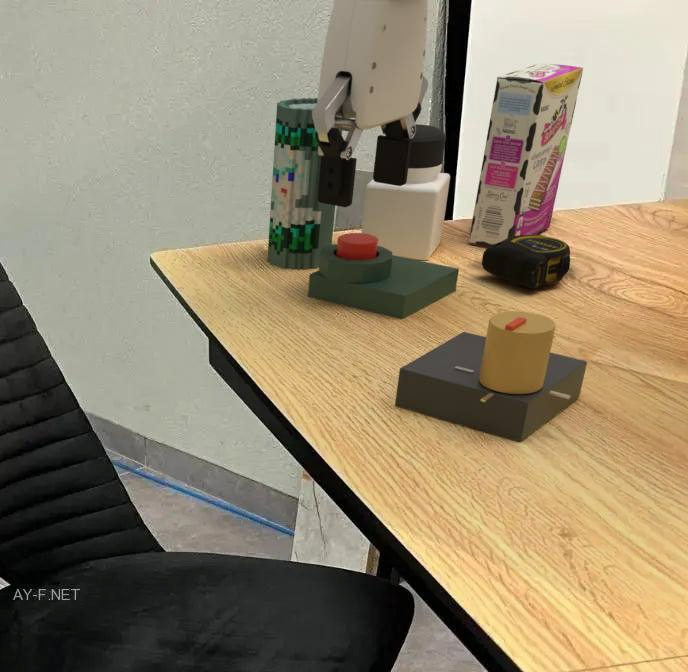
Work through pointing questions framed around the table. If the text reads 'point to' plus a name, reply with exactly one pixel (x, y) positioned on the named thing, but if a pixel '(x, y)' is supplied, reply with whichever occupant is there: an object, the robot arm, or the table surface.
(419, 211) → the medicine bottle
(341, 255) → the button
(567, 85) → the candy bar box
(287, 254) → the can
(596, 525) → the table surface
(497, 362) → the lock knob
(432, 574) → the table surface
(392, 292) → the button block
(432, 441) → the table surface
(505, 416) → the plate
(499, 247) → the tape measure
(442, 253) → the table surface
